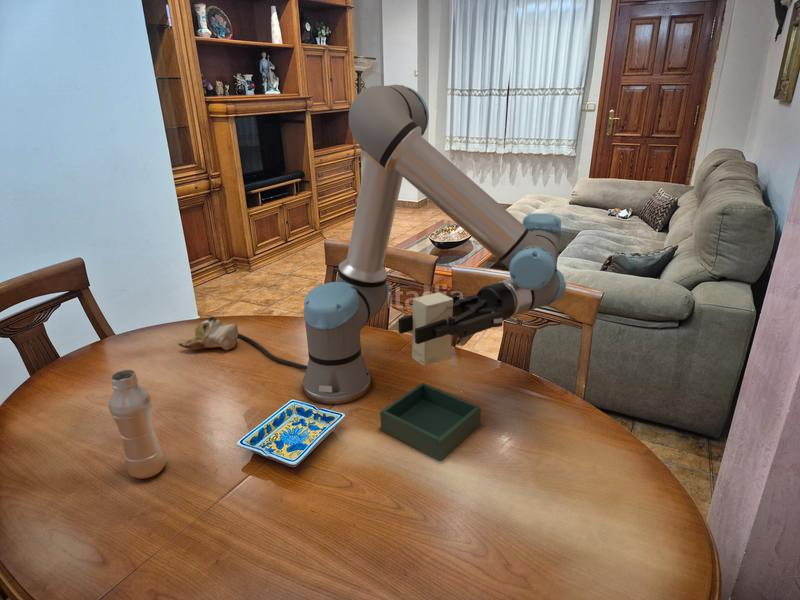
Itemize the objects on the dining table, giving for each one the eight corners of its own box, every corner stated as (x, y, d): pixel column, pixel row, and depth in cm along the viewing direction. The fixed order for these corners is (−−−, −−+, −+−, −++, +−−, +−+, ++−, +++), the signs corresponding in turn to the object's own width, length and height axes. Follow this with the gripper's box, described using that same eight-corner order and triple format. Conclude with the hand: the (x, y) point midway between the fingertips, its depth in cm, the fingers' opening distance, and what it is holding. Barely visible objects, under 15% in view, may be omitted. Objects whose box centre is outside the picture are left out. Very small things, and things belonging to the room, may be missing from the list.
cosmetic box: (424, 368, 92) (425, 306, 88) (411, 357, 96) (411, 298, 91) (452, 358, 96) (454, 298, 91) (437, 349, 99) (439, 290, 94)
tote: (380, 430, 102) (380, 411, 100) (422, 399, 112) (422, 382, 110) (440, 461, 93) (440, 441, 92) (479, 425, 103) (480, 406, 101)
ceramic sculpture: (223, 327, 127) (171, 325, 130) (230, 358, 130) (179, 355, 133) (245, 310, 136) (195, 309, 140) (251, 339, 139) (202, 337, 143)
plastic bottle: (153, 486, 89) (128, 387, 81) (119, 481, 90) (91, 383, 82) (175, 461, 94) (153, 367, 87) (143, 456, 96) (119, 363, 88)
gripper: (534, 332, 97) (438, 370, 85) (472, 303, 110) (381, 332, 98) (538, 295, 94) (438, 329, 82) (474, 271, 107) (380, 296, 95)
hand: (408, 331), depth 90 cm, fingers closed on cosmetic box, 4 cm apart
